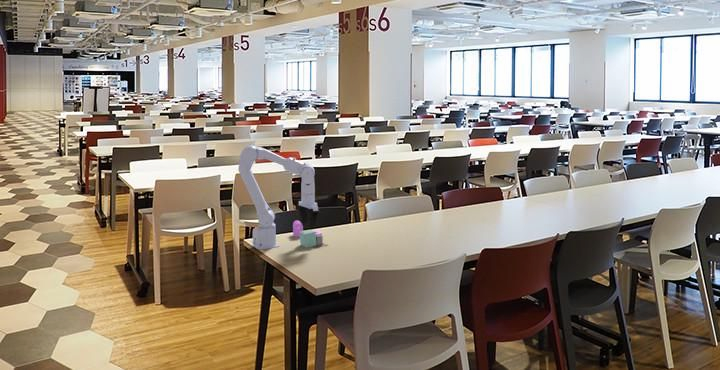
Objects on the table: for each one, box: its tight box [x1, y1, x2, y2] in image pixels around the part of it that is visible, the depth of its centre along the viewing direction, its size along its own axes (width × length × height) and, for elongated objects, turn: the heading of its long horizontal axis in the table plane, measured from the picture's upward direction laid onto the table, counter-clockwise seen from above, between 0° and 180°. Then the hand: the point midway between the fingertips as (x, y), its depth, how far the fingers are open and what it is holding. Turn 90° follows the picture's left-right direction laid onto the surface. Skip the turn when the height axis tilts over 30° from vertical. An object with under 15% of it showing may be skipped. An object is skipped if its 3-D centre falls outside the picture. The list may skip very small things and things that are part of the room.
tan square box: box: [312, 234, 329, 248], centre depth 273 cm, size 6×6×4 cm
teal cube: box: [299, 229, 317, 249], centre depth 271 cm, size 5×5×6 cm
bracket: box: [292, 220, 323, 238], centre depth 291 cm, size 13×6×7 cm, turn 104°
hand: (308, 224), depth 271 cm, fingers open, 7 cm apart
